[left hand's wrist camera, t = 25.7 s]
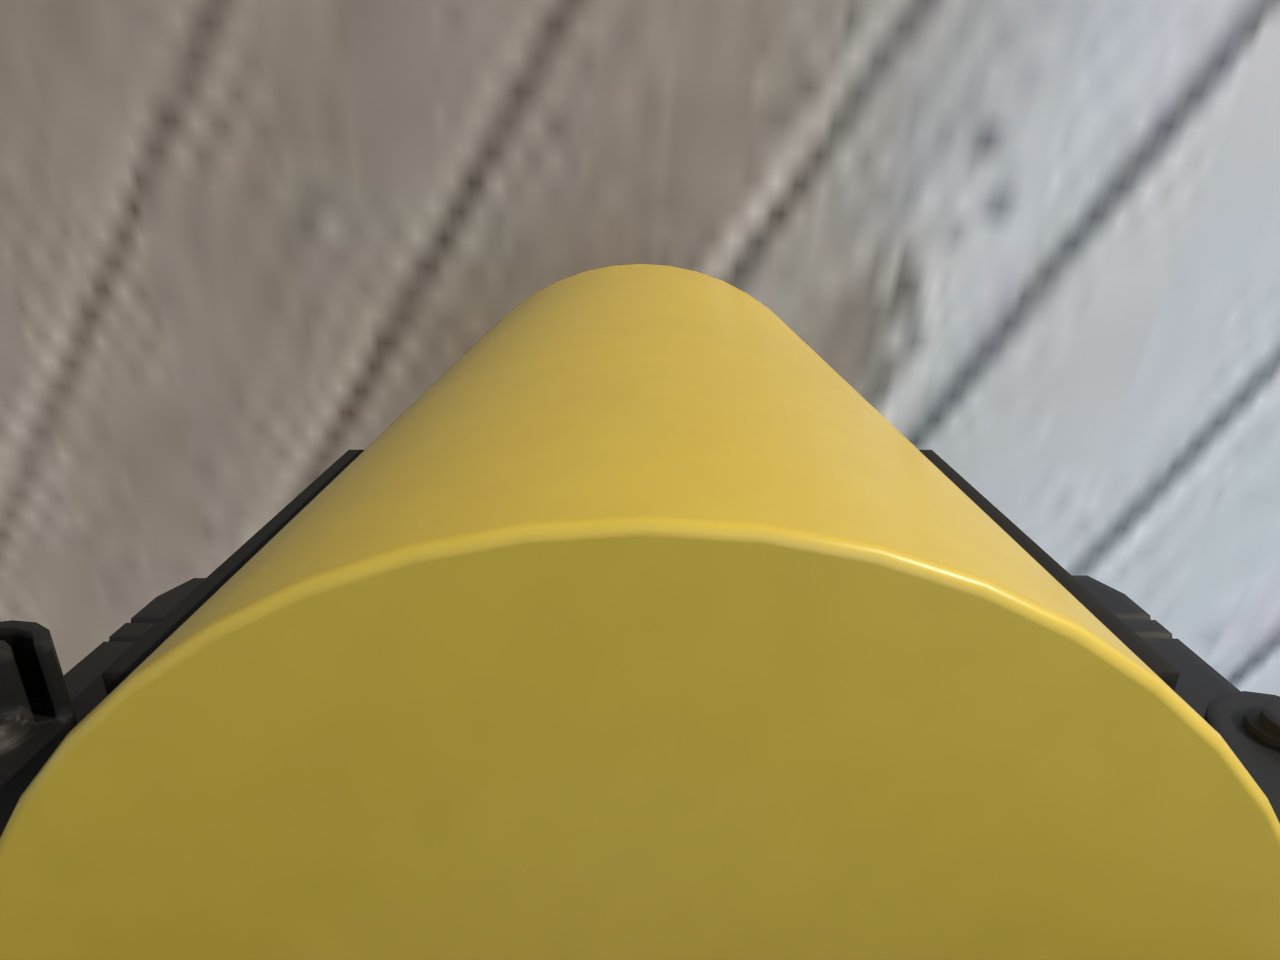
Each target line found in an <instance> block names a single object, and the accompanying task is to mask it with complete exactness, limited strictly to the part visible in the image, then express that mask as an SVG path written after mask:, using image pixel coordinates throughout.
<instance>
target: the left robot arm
mask: <svg viewBox="0 0 1280 960" xmlns="http://www.w3.org/2000/svg"><path fill="white" fill-rule="evenodd" d="M363 451H364V450H348V451H347V452H346V453H345V454H344V455H343V456H342V457H340V458H339V459H338V460H337V461H336V462H335V463H334V464H333V465H332V466H330V467H329V468H328V469H327V470H326V471H325V472H324V473H323V474H322V475H320V476H319V477H318V478H317V479H316V480H315V481H314V482H313V483H312V484H310V485H309V486H308V487H307V488H306V489H305V490H304V491H303V492H302V493H300V494H299V495H298V496H297V497H296V498H295V499H294V500H293V501H292V502H290V503H289V504H288V505H287V506H286V507H285V508H284V509H283V510H282V511H280V512H279V513H278V514H277V515H276V516H275V517H274V518H273V519H272V520H270V521H269V522H268V523H267V524H266V525H265V526H264V527H263V528H262V529H260V530H259V531H258V532H257V533H256V534H255V535H254V536H253V537H252V538H250V539H249V540H248V541H247V542H246V543H245V544H244V545H243V546H242V547H240V548H239V549H238V550H237V551H236V552H235V553H234V554H233V555H232V556H230V557H229V558H228V559H227V560H226V561H225V562H224V563H223V564H222V565H220V566H219V567H218V568H217V569H216V570H215V571H214V572H213V573H212V574H210V575H209V576H208V577H207V578H194V579H192V580H190V581H188V582H186V583H184V584H182V585H180V586H178V587H176V588H174V589H172V590H170V591H168V592H166V593H164V594H162V595H160V596H158V597H156V598H155V599H154V600H153V601H151V602H150V603H149V604H148V605H147V606H146V607H144V608H143V609H142V610H141V611H140V612H138V613H137V614H136V615H135V616H134V617H133V618H131V623H125V624H124V625H123V626H122V627H121V628H120V629H118V630H117V631H116V632H115V633H114V634H112V635H111V636H110V640H109V642H103V643H102V644H101V645H99V646H98V647H97V648H96V649H95V650H94V651H92V652H91V653H90V654H89V655H88V656H86V657H85V658H84V659H83V660H82V661H81V662H79V663H78V664H77V665H76V666H75V667H73V668H72V669H71V670H70V671H69V672H68V673H66V674H65V675H64V676H63V673H62V670H61V667H60V663H59V660H58V657H57V654H56V650H55V647H54V644H53V640H52V637H51V634H50V631H49V630H48V629H47V628H45V627H43V626H41V625H40V624H38V623H35V622H24V621H4V622H0V837H1V835H2V833H3V831H4V829H5V827H6V825H7V823H8V821H9V819H10V817H11V815H12V813H13V810H14V808H15V806H16V804H17V802H18V800H19V798H20V796H21V795H22V794H23V792H24V791H25V790H26V789H27V787H28V786H29V785H30V783H31V782H32V781H33V779H34V778H35V777H36V775H37V774H38V773H39V771H40V770H41V769H42V767H43V766H44V765H45V763H46V762H47V761H48V759H49V758H50V757H51V755H52V754H53V753H54V752H55V750H56V749H57V748H58V746H59V745H60V744H61V742H62V741H63V740H64V738H65V737H66V736H67V734H68V733H69V732H70V731H71V730H72V729H73V728H74V727H75V726H76V725H77V724H79V723H80V722H81V721H82V720H83V719H84V718H85V717H86V716H87V715H88V714H89V713H90V712H91V711H92V710H93V709H94V708H95V707H96V706H97V705H98V704H99V703H101V702H102V701H103V700H104V699H105V698H106V697H107V696H108V695H109V694H110V693H111V692H112V691H113V690H114V689H115V688H116V687H117V686H118V685H119V684H120V683H121V682H122V681H124V680H125V679H126V678H127V677H128V676H129V675H130V674H131V673H132V672H133V671H134V670H135V669H136V668H137V667H138V666H139V665H140V664H141V663H142V662H143V661H144V660H146V659H147V658H148V657H149V656H150V655H151V654H152V653H153V652H154V651H155V650H156V649H157V648H158V647H159V646H160V645H161V644H162V643H163V642H164V641H165V640H166V639H167V638H169V637H170V636H171V635H172V634H173V633H174V632H175V631H176V630H177V629H178V628H179V627H180V626H181V625H182V624H183V623H184V622H185V621H186V620H187V619H188V618H189V617H190V616H192V615H193V614H194V613H195V612H196V611H197V610H198V609H199V608H200V607H201V606H202V605H203V604H204V603H205V602H206V601H207V600H208V599H209V598H210V597H211V596H212V595H214V594H215V593H216V592H217V591H218V590H219V589H220V588H221V587H222V586H223V585H224V584H225V583H226V582H227V581H228V580H229V579H230V578H231V577H232V576H233V575H234V574H235V573H237V572H238V571H239V570H240V569H241V568H242V567H243V566H244V565H245V564H246V563H247V562H248V561H249V560H250V559H251V558H252V557H253V556H254V555H255V554H256V553H257V552H259V551H260V550H261V549H262V548H263V547H264V546H265V545H266V544H267V543H268V542H269V541H270V540H271V539H272V538H273V537H274V536H275V535H276V534H277V533H278V532H279V531H280V530H282V529H283V528H284V527H285V526H286V525H287V524H288V523H289V522H290V521H291V520H292V519H293V518H294V517H295V516H296V515H297V514H298V513H299V512H300V511H301V510H302V509H304V508H305V507H306V506H307V505H308V504H309V503H310V502H311V501H312V500H313V499H314V498H315V497H316V496H317V495H318V494H319V493H320V492H321V491H322V490H323V489H324V488H325V487H327V486H328V485H329V484H330V483H331V482H332V481H333V480H334V479H335V478H336V477H337V476H338V475H339V474H340V473H341V472H342V471H343V470H344V469H345V468H346V467H347V466H349V465H350V464H351V463H352V462H353V461H354V460H355V459H356V458H357V457H358V456H359V455H360V454H361V453H362V452H363ZM919 451H920V452H921V453H922V454H923V455H924V456H925V457H926V458H927V459H929V460H930V461H931V462H932V463H933V464H934V465H935V466H936V467H937V468H938V469H939V470H940V471H941V472H942V473H943V474H944V475H946V476H947V477H948V478H949V479H950V480H951V481H952V482H953V483H954V484H955V485H956V486H957V487H958V488H959V489H960V490H961V491H962V492H964V493H965V494H966V495H967V496H968V497H969V498H970V499H971V500H972V501H973V502H974V503H975V504H976V505H977V506H978V507H979V508H980V509H982V510H983V511H984V512H985V513H986V514H987V515H988V516H989V517H990V518H991V519H992V520H993V521H994V522H995V523H996V524H997V525H998V526H1000V527H1001V528H1002V529H1003V530H1004V531H1005V532H1006V533H1007V534H1008V535H1009V536H1010V537H1011V538H1012V539H1013V540H1014V541H1015V542H1017V543H1018V544H1019V545H1020V546H1021V547H1022V548H1023V549H1024V550H1025V551H1026V552H1027V553H1028V554H1029V555H1030V556H1031V557H1032V558H1033V559H1035V560H1036V561H1037V562H1038V563H1039V564H1040V565H1041V566H1042V567H1043V568H1044V569H1045V570H1046V571H1047V572H1048V573H1049V574H1050V575H1051V576H1053V577H1054V578H1055V579H1056V580H1057V581H1058V582H1059V583H1060V584H1061V585H1062V586H1063V587H1064V588H1065V589H1066V590H1067V591H1068V592H1070V593H1071V594H1072V595H1073V596H1074V597H1075V598H1076V599H1077V600H1078V601H1079V602H1080V603H1081V604H1082V605H1083V606H1084V607H1085V608H1086V609H1088V610H1089V611H1090V612H1091V613H1092V614H1093V615H1094V616H1095V617H1096V618H1097V619H1098V620H1099V621H1100V622H1101V623H1102V624H1103V625H1104V626H1106V627H1107V628H1108V629H1109V630H1110V631H1111V632H1112V633H1113V634H1114V635H1115V636H1116V637H1117V638H1118V639H1119V640H1120V641H1121V642H1122V643H1124V644H1125V645H1126V646H1127V647H1128V648H1129V649H1130V650H1131V651H1132V652H1133V653H1134V654H1135V655H1136V656H1137V657H1138V658H1139V659H1141V660H1142V661H1143V662H1144V663H1145V664H1146V665H1147V666H1148V667H1149V668H1150V669H1151V670H1152V671H1153V672H1154V673H1155V674H1156V675H1157V676H1159V677H1160V678H1161V679H1162V680H1163V681H1164V682H1165V683H1166V684H1167V685H1168V686H1169V687H1170V688H1171V689H1172V690H1173V691H1174V692H1175V693H1177V694H1178V695H1179V696H1180V697H1181V698H1182V699H1183V700H1184V701H1185V702H1186V703H1187V704H1188V705H1189V706H1190V707H1191V708H1192V709H1194V710H1195V711H1196V712H1197V713H1198V714H1199V715H1200V716H1201V717H1202V718H1203V719H1204V720H1205V721H1206V722H1207V723H1208V724H1209V725H1210V726H1212V727H1213V728H1214V729H1215V730H1216V731H1217V732H1218V733H1219V734H1220V735H1221V736H1222V738H1223V739H1224V740H1225V742H1226V743H1227V744H1228V746H1229V747H1230V748H1231V750H1232V751H1233V753H1234V754H1235V755H1236V757H1237V758H1238V759H1239V761H1240V762H1241V763H1242V765H1243V766H1244V767H1245V769H1246V770H1247V771H1248V773H1249V774H1250V775H1251V777H1252V778H1253V779H1254V781H1255V782H1256V783H1257V785H1258V786H1259V787H1260V789H1261V790H1262V791H1263V793H1264V794H1265V795H1266V797H1267V798H1268V800H1269V802H1270V804H1271V806H1272V808H1273V811H1274V813H1275V815H1276V817H1277V819H1278V821H1279V823H1280V697H1279V696H1276V695H1270V694H1262V693H1254V692H1246V691H1242V692H1240V691H1239V690H1238V689H1237V688H1236V687H1234V686H1233V685H1232V684H1231V683H1230V682H1229V681H1227V680H1226V679H1225V678H1224V677H1223V676H1221V675H1220V674H1219V673H1218V672H1217V671H1215V670H1214V669H1213V668H1212V667H1211V666H1209V665H1208V664H1207V663H1206V662H1205V661H1203V660H1202V659H1201V658H1200V657H1199V656H1198V655H1196V654H1195V653H1194V652H1193V651H1192V650H1190V649H1189V648H1188V647H1187V646H1186V645H1184V644H1183V643H1182V642H1181V641H1180V640H1178V639H1172V634H1171V633H1170V632H1169V631H1168V630H1167V629H1165V628H1164V627H1163V626H1162V625H1161V624H1159V623H1158V622H1157V621H1156V620H1151V619H1150V615H1149V614H1147V613H1146V612H1145V611H1144V610H1143V609H1142V608H1140V607H1139V606H1138V605H1137V604H1136V603H1134V602H1133V601H1132V600H1131V599H1130V598H1128V597H1127V596H1126V595H1125V594H1123V593H1121V592H1119V591H1117V590H1115V589H1113V588H1111V587H1109V586H1107V585H1105V584H1103V583H1101V582H1099V581H1097V580H1095V579H1093V578H1091V577H1089V576H1071V575H1070V574H1069V573H1068V572H1067V571H1066V570H1065V569H1063V568H1062V567H1061V566H1060V565H1059V564H1058V563H1057V562H1056V561H1055V560H1053V559H1052V558H1051V557H1050V556H1049V555H1048V554H1047V553H1046V552H1045V551H1043V550H1042V549H1041V548H1040V547H1039V546H1038V545H1037V544H1036V543H1035V542H1033V541H1032V540H1031V539H1030V538H1029V537H1028V536H1027V535H1026V534H1025V533H1023V532H1022V531H1021V530H1020V529H1019V528H1018V527H1017V526H1016V525H1015V524H1013V523H1012V522H1011V521H1010V520H1009V519H1008V518H1007V517H1006V516H1005V515H1003V514H1002V513H1001V512H1000V511H999V510H998V509H997V508H996V507H995V506H993V505H992V504H991V503H990V502H989V501H988V500H987V499H986V498H985V497H983V496H982V495H981V494H980V493H979V492H978V491H977V490H976V489H975V488H973V487H972V486H971V485H970V484H969V483H968V482H967V481H966V480H965V479H963V478H962V477H961V476H960V475H959V474H958V473H957V472H956V471H955V470H953V469H952V468H951V467H950V466H949V465H948V464H947V463H946V462H945V461H943V460H942V459H941V458H940V457H939V456H938V455H937V454H936V453H935V452H933V451H932V450H919Z"/></svg>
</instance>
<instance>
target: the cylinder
mask: <svg viewBox="0 0 1280 960" xmlns="http://www.w3.org/2000/svg"><path fill="white" fill-rule="evenodd" d="M0 960H1280V823H1279V821H1278V819H1277V817H1276V815H1275V813H1274V811H1273V808H1272V806H1271V804H1270V802H1269V800H1268V798H1267V797H1266V795H1265V794H1264V793H1263V791H1262V790H1261V789H1260V787H1259V786H1258V785H1257V783H1256V782H1255V781H1254V779H1253V778H1252V777H1251V775H1250V774H1249V773H1248V771H1247V770H1246V769H1245V767H1244V766H1243V765H1242V763H1241V762H1240V761H1239V759H1238V758H1237V757H1236V755H1235V754H1234V753H1233V751H1232V750H1231V748H1230V747H1229V746H1228V744H1227V743H1226V742H1225V740H1224V739H1223V738H1222V736H1221V735H1220V734H1219V733H1218V732H1217V731H1216V730H1215V729H1214V728H1213V727H1212V726H1210V725H1209V724H1208V723H1207V722H1206V721H1205V720H1204V719H1203V718H1202V717H1201V716H1200V715H1199V714H1198V713H1197V712H1196V711H1195V710H1194V709H1192V708H1191V707H1190V706H1189V705H1188V704H1187V703H1186V702H1185V701H1184V700H1183V699H1182V698H1181V697H1180V696H1179V695H1178V694H1177V693H1175V692H1174V691H1173V690H1172V689H1171V688H1170V687H1169V686H1168V685H1167V684H1166V683H1165V682H1164V681H1163V680H1162V679H1161V678H1160V677H1159V676H1157V675H1156V674H1155V673H1154V672H1153V671H1152V670H1151V669H1150V668H1149V667H1148V666H1147V665H1146V664H1145V663H1144V662H1143V661H1142V660H1141V659H1139V658H1138V657H1137V656H1136V655H1135V654H1134V653H1133V652H1132V651H1131V650H1130V649H1129V648H1128V647H1127V646H1126V645H1125V644H1124V643H1122V642H1121V641H1120V640H1119V639H1118V638H1117V637H1116V636H1115V635H1114V634H1113V633H1112V632H1111V631H1110V630H1109V629H1108V628H1107V627H1106V626H1104V625H1103V624H1102V623H1101V622H1100V621H1099V620H1098V619H1097V618H1096V617H1095V616H1094V615H1093V614H1092V613H1091V612H1090V611H1089V610H1088V609H1086V608H1085V607H1084V606H1083V605H1082V604H1081V603H1080V602H1079V601H1078V600H1077V599H1076V598H1075V597H1074V596H1073V595H1072V594H1071V593H1070V592H1068V591H1067V590H1066V589H1065V588H1064V587H1063V586H1062V585H1061V584H1060V583H1059V582H1058V581H1057V580H1056V579H1055V578H1054V577H1053V576H1051V575H1050V574H1049V573H1048V572H1047V571H1046V570H1045V569H1044V568H1043V567H1042V566H1041V565H1040V564H1039V563H1038V562H1037V561H1036V560H1035V559H1033V558H1032V557H1031V556H1030V555H1029V554H1028V553H1027V552H1026V551H1025V550H1024V549H1023V548H1022V547H1021V546H1020V545H1019V544H1018V543H1017V542H1015V541H1014V540H1013V539H1012V538H1011V537H1010V536H1009V535H1008V534H1007V533H1006V532H1005V531H1004V530H1003V529H1002V528H1001V527H1000V526H998V525H997V524H996V523H995V522H994V521H993V520H992V519H991V518H990V517H989V516H988V515H987V514H986V513H985V512H984V511H983V510H982V509H980V508H979V507H978V506H977V505H976V504H975V503H974V502H973V501H972V500H971V499H970V498H969V497H968V496H967V495H966V494H965V493H964V492H962V491H961V490H960V489H959V488H958V487H957V486H956V485H955V484H954V483H953V482H952V481H951V480H950V479H949V478H948V477H947V476H946V475H944V474H943V473H942V472H941V471H940V470H939V469H938V468H937V467H936V466H935V465H934V464H933V463H932V462H931V461H930V460H929V459H927V458H926V457H925V456H924V455H923V454H922V453H921V452H920V451H919V450H918V449H917V448H916V447H915V446H914V445H913V444H912V443H911V442H909V441H908V440H907V439H906V438H905V437H904V436H903V435H902V434H901V433H900V432H899V431H898V430H897V429H896V428H895V427H894V426H893V425H891V424H890V423H889V422H888V421H887V420H886V419H885V418H884V417H883V416H882V415H881V414H880V413H879V412H878V411H877V410H876V409H874V408H873V407H872V406H871V405H870V404H869V403H868V402H867V401H866V400H865V399H864V398H863V397H862V396H861V395H860V394H859V393H858V392H856V391H855V390H854V389H853V388H852V387H851V386H850V385H849V384H848V383H847V382H846V381H845V380H844V379H843V378H842V377H841V376H840V375H838V374H837V373H836V372H835V371H834V370H833V369H832V368H831V367H830V366H829V365H828V364H827V363H826V362H825V361H824V360H823V359H821V358H820V357H819V356H818V355H817V354H816V353H815V352H814V351H813V350H812V349H811V348H810V347H809V346H808V345H807V344H806V343H805V342H803V341H802V340H801V339H800V338H799V337H798V336H797V335H796V334H795V333H794V332H793V331H792V330H791V329H790V328H789V327H788V326H787V325H785V324H784V323H783V322H782V321H781V320H780V319H779V318H778V317H777V316H776V315H775V314H774V313H773V312H772V311H771V310H769V309H768V308H767V307H765V306H764V305H763V304H761V303H760V302H758V301H757V300H755V299H754V298H753V297H751V296H750V295H748V294H747V293H745V292H743V291H741V290H739V289H737V288H735V287H733V286H732V285H730V284H728V283H726V282H724V281H722V280H719V279H716V278H713V277H710V276H707V275H705V274H702V273H699V272H696V271H691V270H686V269H682V268H677V267H672V266H663V265H649V264H633V265H618V266H610V267H605V268H600V269H595V270H590V271H586V272H583V273H580V274H577V275H574V276H571V277H569V278H566V279H563V280H560V281H558V282H556V283H554V284H552V285H550V286H548V287H546V288H544V289H542V290H540V291H538V292H536V293H535V294H533V295H532V296H530V297H529V298H528V299H526V300H525V301H523V302H522V303H520V304H519V305H518V306H516V307H515V308H513V309H512V310H511V311H510V312H509V313H508V314H507V315H506V316H505V317H504V318H503V319H501V320H500V321H499V322H498V323H497V324H496V325H495V326H494V327H493V328H492V329H491V330H490V331H489V332H488V333H487V334H486V335H485V336H484V337H482V338H481V339H480V340H479V341H478V342H477V343H476V344H475V345H474V346H473V347H472V348H471V349H470V350H469V351H468V352H467V353H466V354H465V355H464V356H463V357H462V358H460V359H459V360H458V361H457V362H456V363H455V364H454V365H453V366H452V367H451V368H450V369H449V370H448V371H447V372H446V373H445V374H444V375H443V376H442V377H441V378H440V379H439V380H437V381H436V382H435V383H434V384H433V385H432V386H431V387H430V388H429V389H428V390H427V391H426V392H425V393H424V394H423V395H422V396H421V397H420V398H419V399H418V400H417V401H415V402H414V403H413V404H412V405H411V406H410V407H409V408H408V409H407V410H406V411H405V412H404V413H403V414H402V415H401V416H400V417H399V418H398V419H397V420H396V421H395V422H394V423H392V424H391V425H390V426H389V427H388V428H387V429H386V430H385V431H384V432H383V433H382V434H381V435H380V436H379V437H378V438H377V439H376V440H375V441H374V442H373V443H372V444H370V445H369V446H368V447H367V448H366V449H365V450H364V451H363V452H362V453H361V454H360V455H359V456H358V457H357V458H356V459H355V460H354V461H353V462H352V463H351V464H350V465H349V466H347V467H346V468H345V469H344V470H343V471H342V472H341V473H340V474H339V475H338V476H337V477H336V478H335V479H334V480H333V481H332V482H331V483H330V484H329V485H328V486H327V487H325V488H324V489H323V490H322V491H321V492H320V493H319V494H318V495H317V496H316V497H315V498H314V499H313V500H312V501H311V502H310V503H309V504H308V505H307V506H306V507H305V508H304V509H302V510H301V511H300V512H299V513H298V514H297V515H296V516H295V517H294V518H293V519H292V520H291V521H290V522H289V523H288V524H287V525H286V526H285V527H284V528H283V529H282V530H280V531H279V532H278V533H277V534H276V535H275V536H274V537H273V538H272V539H271V540H270V541H269V542H268V543H267V544H266V545H265V546H264V547H263V548H262V549H261V550H260V551H259V552H257V553H256V554H255V555H254V556H253V557H252V558H251V559H250V560H249V561H248V562H247V563H246V564H245V565H244V566H243V567H242V568H241V569H240V570H239V571H238V572H237V573H235V574H234V575H233V576H232V577H231V578H230V579H229V580H228V581H227V582H226V583H225V584H224V585H223V586H222V587H221V588H220V589H219V590H218V591H217V592H216V593H215V594H214V595H212V596H211V597H210V598H209V599H208V600H207V601H206V602H205V603H204V604H203V605H202V606H201V607H200V608H199V609H198V610H197V611H196V612H195V613H194V614H193V615H192V616H190V617H189V618H188V619H187V620H186V621H185V622H184V623H183V624H182V625H181V626H180V627H179V628H178V629H177V630H176V631H175V632H174V633H173V634H172V635H171V636H170V637H169V638H167V639H166V640H165V641H164V642H163V643H162V644H161V645H160V646H159V647H158V648H157V649H156V650H155V651H154V652H153V653H152V654H151V655H150V656H149V657H148V658H147V659H146V660H144V661H143V662H142V663H141V664H140V665H139V666H138V667H137V668H136V669H135V670H134V671H133V672H132V673H131V674H130V675H129V676H128V677H127V678H126V679H125V680H124V681H122V682H121V683H120V684H119V685H118V686H117V687H116V688H115V689H114V690H113V691H112V692H111V693H110V694H109V695H108V696H107V697H106V698H105V699H104V700H103V701H102V702H101V703H99V704H98V705H97V706H96V707H95V708H94V709H93V710H92V711H91V712H90V713H89V714H88V715H87V716H86V717H85V718H84V719H83V720H82V721H81V722H80V723H79V724H77V725H76V726H75V727H74V728H73V729H72V730H71V731H70V732H69V733H68V734H67V736H66V737H65V738H64V740H63V741H62V742H61V744H60V745H59V746H58V748H57V749H56V750H55V752H54V753H53V754H52V755H51V757H50V758H49V759H48V761H47V762H46V763H45V765H44V766H43V767H42V769H41V770H40V771H39V773H38V774H37V775H36V777H35V778H34V779H33V781H32V782H31V783H30V785H29V786H28V787H27V789H26V790H25V791H24V792H23V794H22V795H21V796H20V798H19V800H18V802H17V804H16V806H15V808H14V810H13V813H12V815H11V817H10V819H9V821H8V823H7V825H6V827H5V829H4V831H3V833H2V835H1V837H0Z"/></svg>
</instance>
